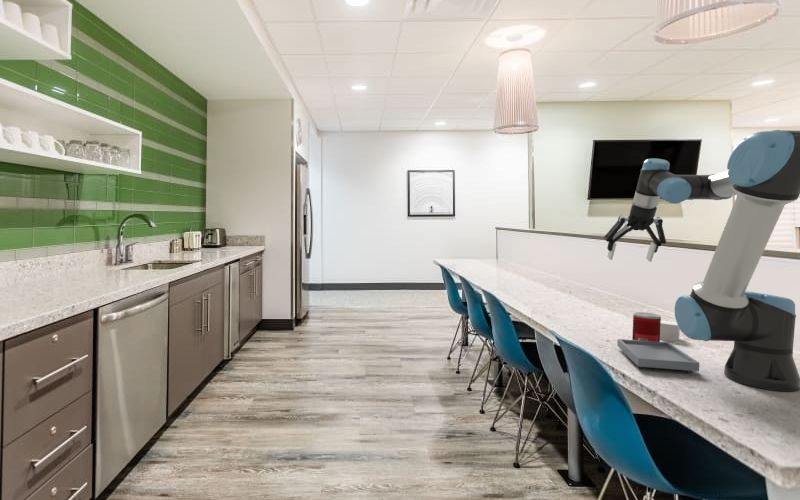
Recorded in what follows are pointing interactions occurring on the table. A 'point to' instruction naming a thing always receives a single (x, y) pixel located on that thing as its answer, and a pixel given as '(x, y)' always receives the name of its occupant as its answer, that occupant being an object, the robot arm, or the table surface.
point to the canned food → (646, 327)
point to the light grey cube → (669, 331)
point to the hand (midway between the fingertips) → (629, 259)
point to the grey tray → (657, 355)
